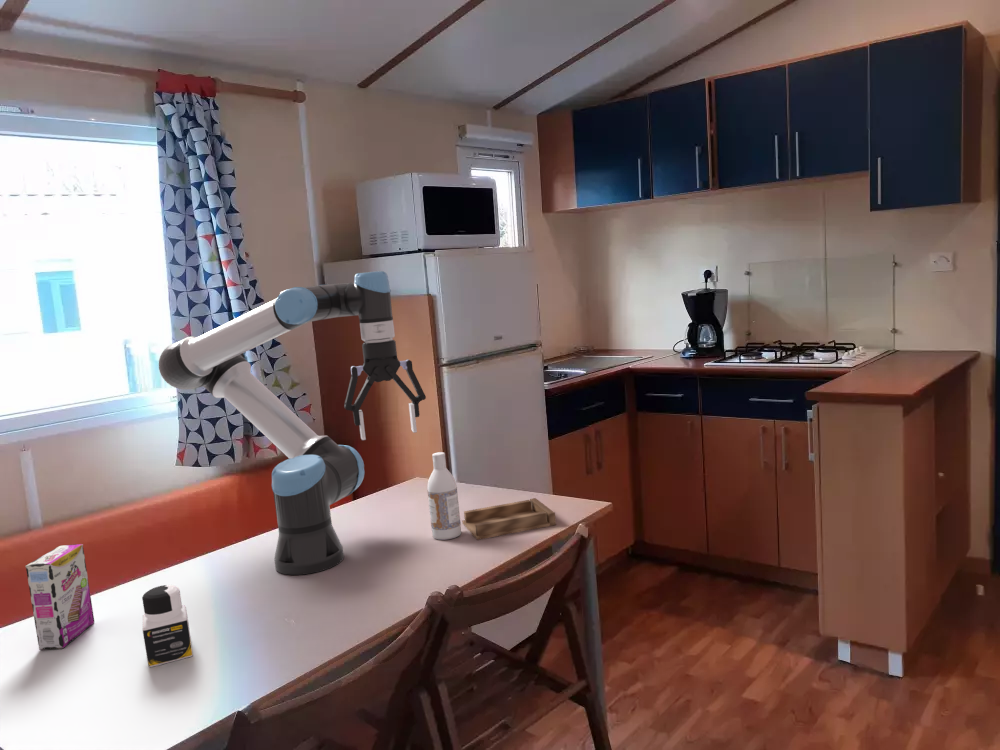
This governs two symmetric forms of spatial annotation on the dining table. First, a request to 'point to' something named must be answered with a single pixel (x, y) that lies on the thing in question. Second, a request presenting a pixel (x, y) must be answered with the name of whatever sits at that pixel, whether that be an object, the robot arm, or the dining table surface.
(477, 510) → the wooden tray
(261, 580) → the dining table surface
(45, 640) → the candy bar box
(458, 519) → the bath foam
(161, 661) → the medicine bottle
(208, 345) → the robot arm
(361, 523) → the dining table surface
